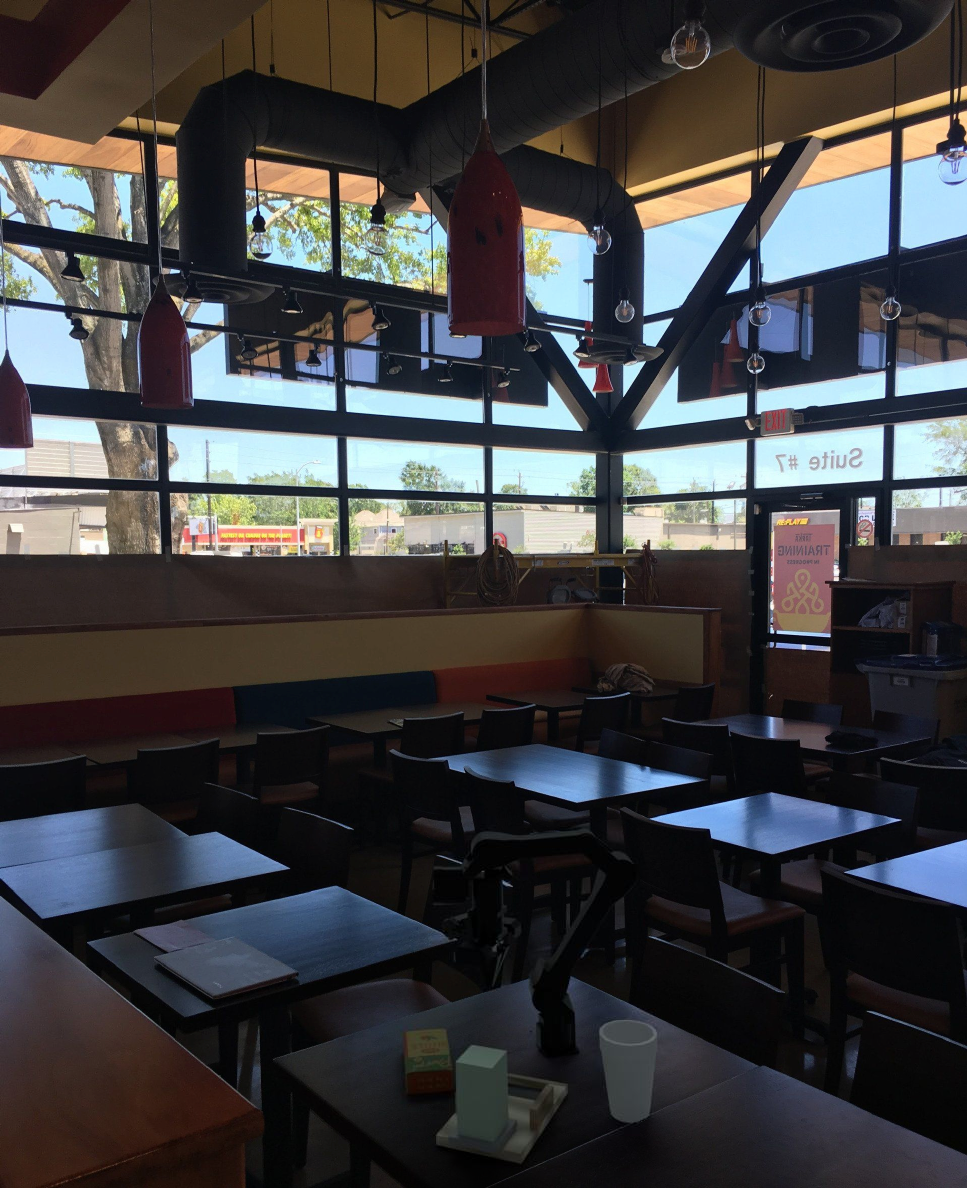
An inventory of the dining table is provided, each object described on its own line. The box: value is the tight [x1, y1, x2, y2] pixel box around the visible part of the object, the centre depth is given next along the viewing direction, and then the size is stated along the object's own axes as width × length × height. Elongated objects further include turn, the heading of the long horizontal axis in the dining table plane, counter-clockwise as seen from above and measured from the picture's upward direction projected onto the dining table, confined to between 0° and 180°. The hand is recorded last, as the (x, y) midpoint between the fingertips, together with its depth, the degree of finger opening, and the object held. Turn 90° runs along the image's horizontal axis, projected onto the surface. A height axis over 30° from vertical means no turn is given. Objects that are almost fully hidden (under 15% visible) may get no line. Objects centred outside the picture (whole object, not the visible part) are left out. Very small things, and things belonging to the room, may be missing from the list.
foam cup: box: [598, 1019, 659, 1124], centre depth 157 cm, size 10×9×13 cm
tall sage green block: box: [449, 1044, 517, 1154], centre depth 148 cm, size 8×8×12 cm
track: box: [435, 1073, 569, 1165], centre depth 156 cm, size 22×14×4 cm, turn 157°
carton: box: [402, 1028, 455, 1095], centre depth 172 cm, size 8×16×4 cm, turn 7°
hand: (489, 986), depth 179 cm, fingers closed
